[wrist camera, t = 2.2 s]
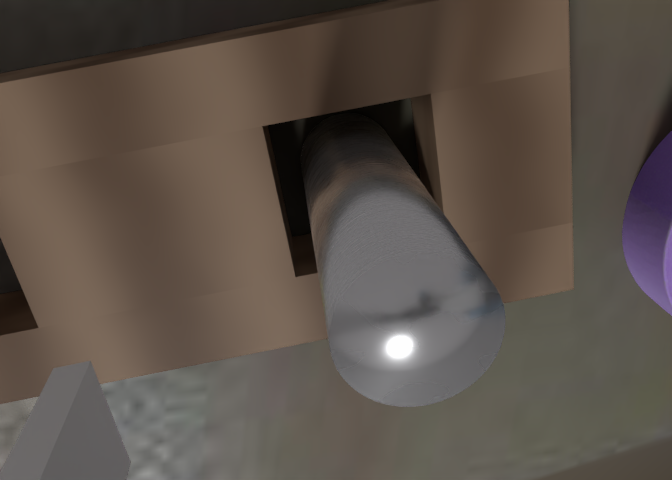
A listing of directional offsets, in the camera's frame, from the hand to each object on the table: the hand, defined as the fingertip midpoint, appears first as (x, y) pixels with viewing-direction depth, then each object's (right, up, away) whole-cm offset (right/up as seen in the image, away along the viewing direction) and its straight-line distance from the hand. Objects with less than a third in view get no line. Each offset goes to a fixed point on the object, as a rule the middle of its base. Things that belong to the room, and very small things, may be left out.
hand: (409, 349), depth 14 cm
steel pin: (-1, +6, +13) cm, 15 cm away
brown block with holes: (-9, +4, +13) cm, 17 cm away
